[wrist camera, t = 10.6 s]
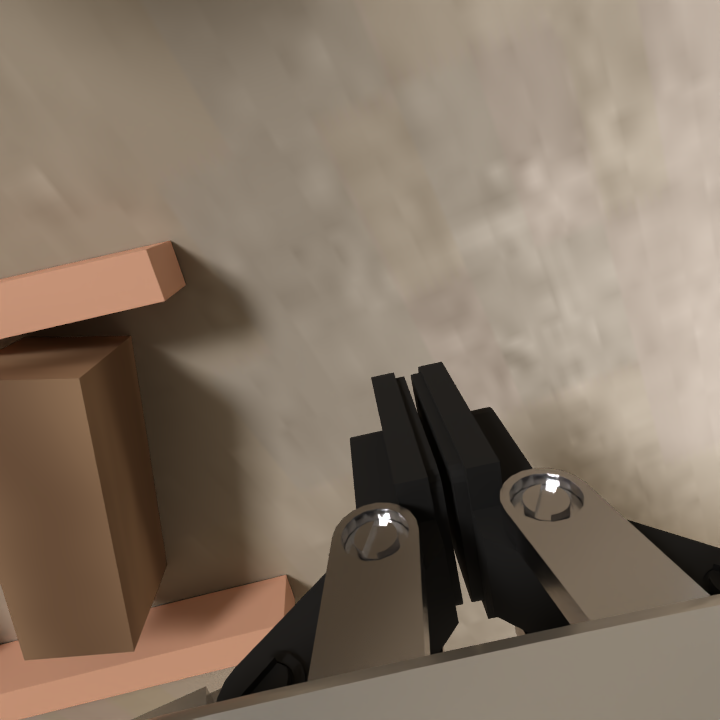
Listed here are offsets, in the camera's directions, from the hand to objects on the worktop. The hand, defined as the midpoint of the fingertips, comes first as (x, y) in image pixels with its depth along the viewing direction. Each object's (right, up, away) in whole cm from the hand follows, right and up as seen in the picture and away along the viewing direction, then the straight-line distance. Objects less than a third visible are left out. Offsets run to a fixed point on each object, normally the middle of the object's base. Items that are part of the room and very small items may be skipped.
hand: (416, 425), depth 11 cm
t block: (-14, -2, +7) cm, 16 cm away
